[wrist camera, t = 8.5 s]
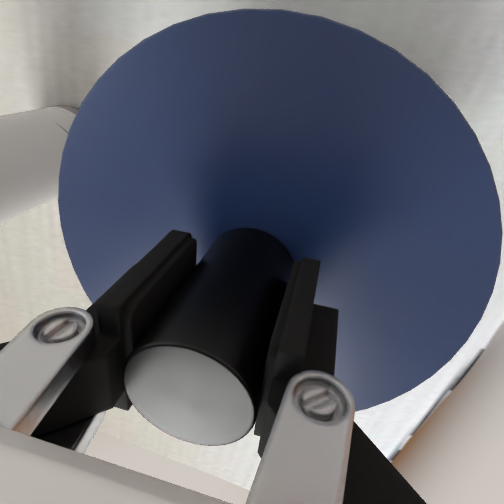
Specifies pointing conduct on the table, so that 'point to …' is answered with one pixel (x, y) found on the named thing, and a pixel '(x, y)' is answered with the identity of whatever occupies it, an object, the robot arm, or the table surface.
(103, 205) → the lid
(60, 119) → the travel mug
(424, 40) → the table surface
